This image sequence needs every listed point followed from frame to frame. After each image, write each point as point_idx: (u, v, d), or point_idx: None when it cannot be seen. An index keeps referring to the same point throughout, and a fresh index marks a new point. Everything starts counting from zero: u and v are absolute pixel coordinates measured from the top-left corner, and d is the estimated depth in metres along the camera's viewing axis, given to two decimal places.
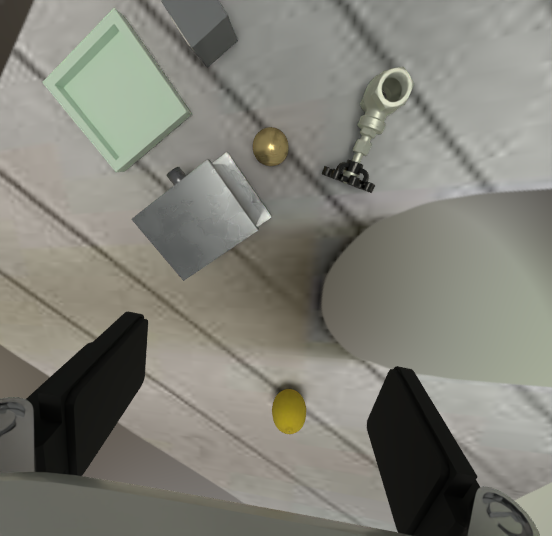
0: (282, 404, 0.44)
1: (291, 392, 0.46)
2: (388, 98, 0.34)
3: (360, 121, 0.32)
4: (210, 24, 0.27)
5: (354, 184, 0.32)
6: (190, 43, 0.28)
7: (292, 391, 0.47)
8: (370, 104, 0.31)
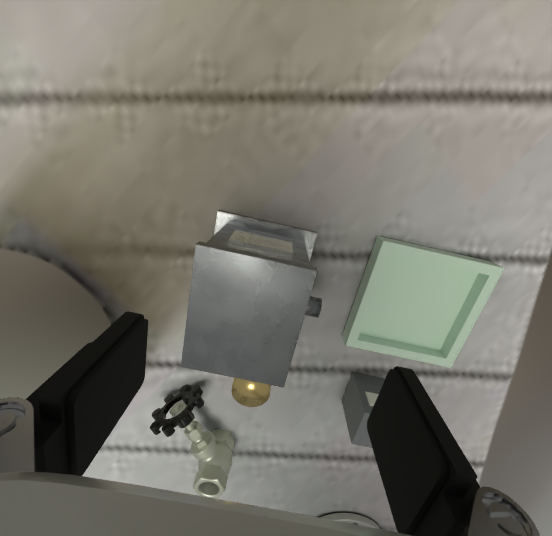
0: None
1: None
2: None
3: (212, 444, 0.35)
4: (360, 432, 0.30)
5: (163, 431, 0.30)
6: (368, 414, 0.29)
7: None
8: (216, 457, 0.35)
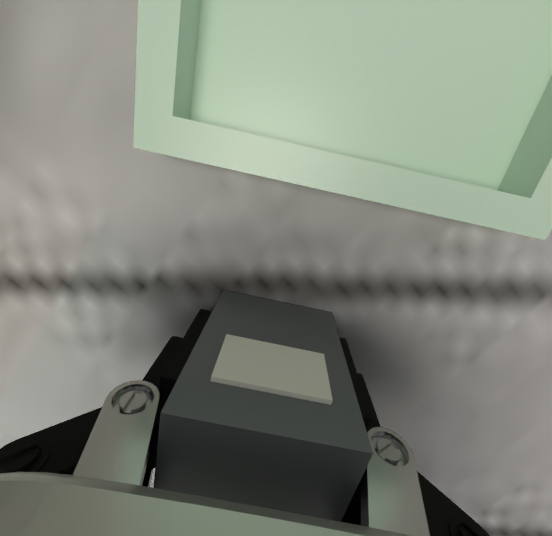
0: None
1: None
2: None
3: None
4: None
5: None
6: (177, 421, 0.06)
7: None
8: None
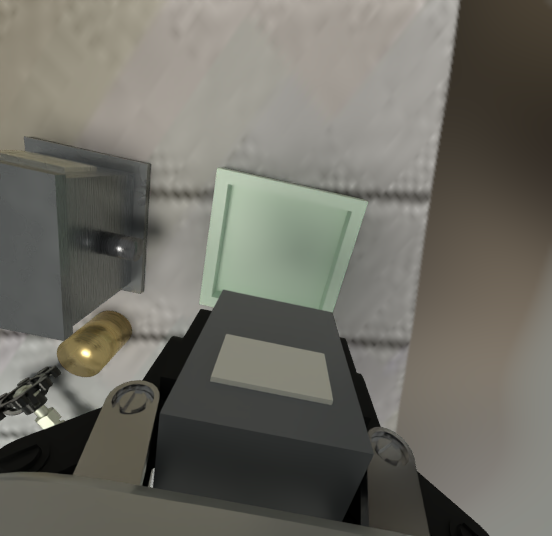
0: None
1: None
2: None
3: None
4: None
5: None
6: (176, 422, 0.06)
7: None
8: None
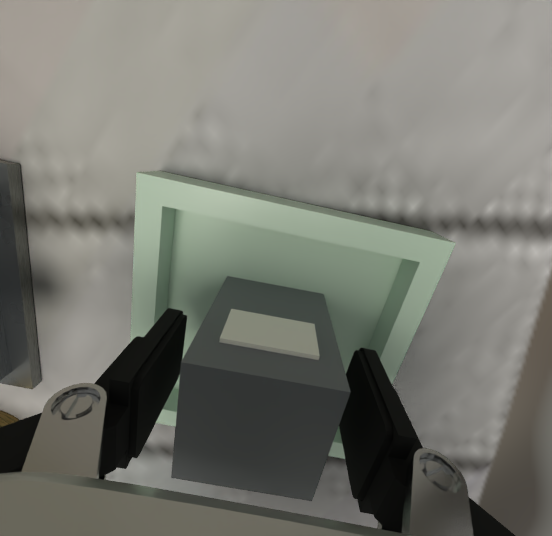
0: None
1: None
2: None
3: None
4: (188, 440, 0.08)
5: None
6: (194, 369, 0.07)
7: None
8: None
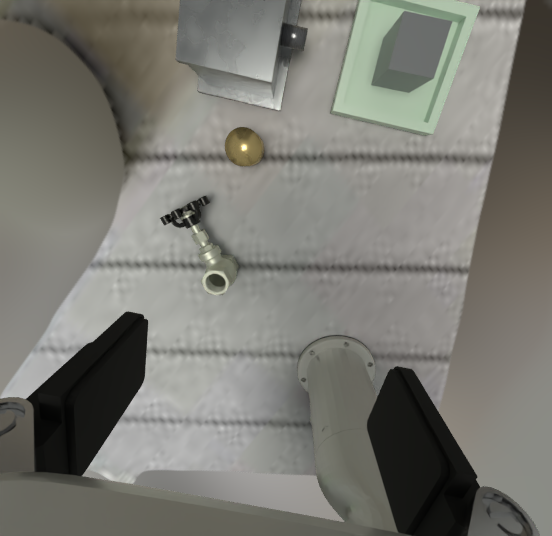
0: None
1: None
2: None
3: (217, 249, 0.37)
4: (398, 47, 0.27)
5: (173, 213, 0.33)
6: (407, 13, 0.26)
7: None
8: (221, 262, 0.37)
